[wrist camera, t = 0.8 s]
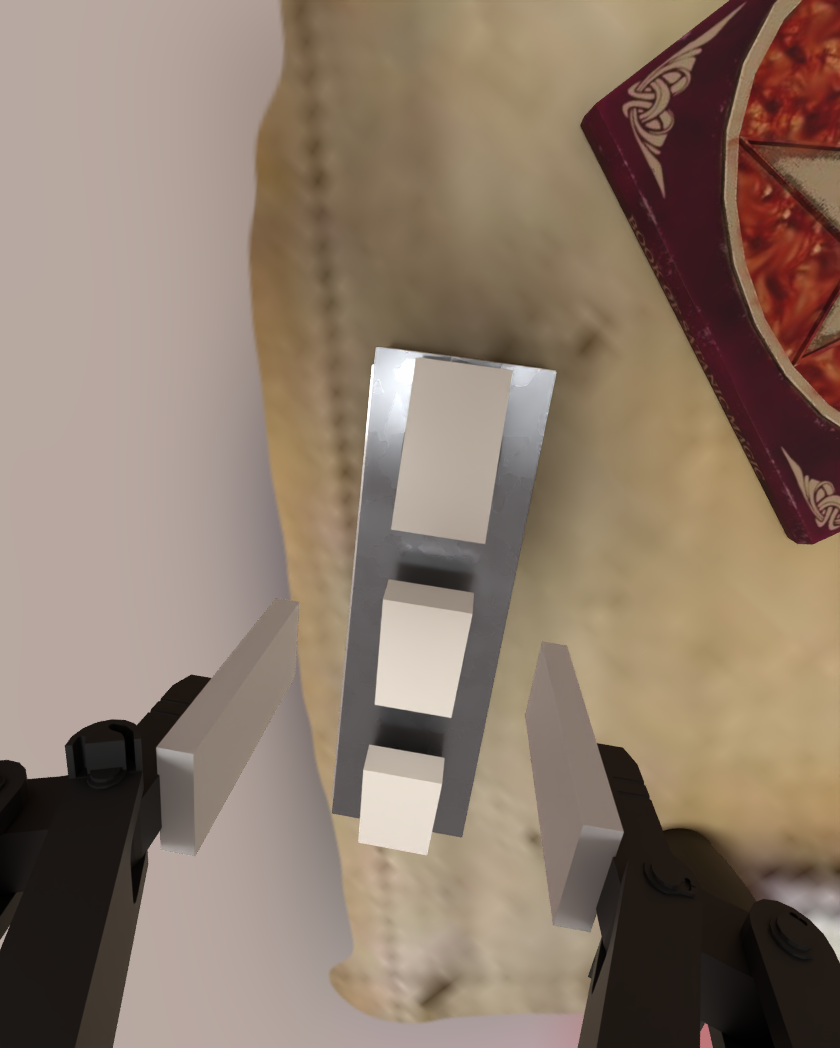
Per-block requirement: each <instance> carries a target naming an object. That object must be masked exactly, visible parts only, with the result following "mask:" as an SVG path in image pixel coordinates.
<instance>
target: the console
mask: <svg viewBox="0 0 840 1048" xmlns="http://www.w3.org/2000/svg"><path fill="white" fill-rule="evenodd" d="M416 357H419V358H426V359H434V360H441V361H448V362H456V363H463V364H470V365H478V366H485V367H493V368H500V369H507V370H513V372H512V378H511V385H510V391H509V397H508V404H507V410H506V416H505V422H504V429H503V435H502V447H501V455H500V461H499V467H498V472H497V477H496V481H495V485H494V491H493V497H492V504H491V510H490V516H489V523H488V529H487V535H486V541H485V544H481V543H475V542H468V541H462V540H455V539H449V538H442V537H436V536H429V535H423V534H416V533H410V532H403V531H397V530H391V526H392V519H393V512H394V505H395V498H396V491H397V484H398V478H399V471H400V464H401V451H402V444H403V438H404V433H405V428H406V422H407V415H408V408H409V401H410V394H411V387H412V380H413V373H414V366H415V359H416ZM556 372H557V371H554V370H551V369H547V368H542V367H534V366H527V365H520V364H512V363H505V362H497V361H490V360H483V359H475V358H468V357H460V356H453V355H446V354H438V353H431V352H423V351H416V350H408V349H401V348H394V347H376V351H375V362H374V364H373V365H372V372H371V382H370V393H369V404H368V415H367V425H366V436H365V447H364V458H363V468H362V479H361V490H360V501H359V512H358V522H357V533H356V544H355V555H354V565H353V576H352V587H351V598H350V608H349V619H348V630H347V641H346V651H345V662H344V673H343V684H342V695H341V705H340V716H339V727H338V738H337V748H336V759H335V770H334V781H333V791H332V798H333V808H332V813H333V814H338V815H344V816H349V817H354V818H360V811H361V796H362V782H363V769H364V765H365V761H366V756H367V752H368V748H369V745H375V746H380V747H386V748H392V749H397V750H403V751H408V752H414V753H420V754H425V755H431V756H437V757H442V758H445V760H444V770H443V780H442V787H441V792H440V796H439V801H438V808H437V814H436V818H435V820H434V825H433V829H432V832H435V833H441V834H446V835H451V836H457V837H462V835H463V830H464V825H465V820H466V815H467V810H468V806H469V801H470V796H471V791H472V786H473V781H474V776H475V771H476V766H477V761H478V756H479V751H480V746H481V742H482V737H483V732H484V727H485V722H486V717H487V712H488V707H489V702H490V697H491V692H492V687H493V682H494V678H495V673H496V668H497V663H498V658H499V653H500V648H501V643H502V638H503V633H504V628H505V623H506V619H507V614H508V609H509V604H510V599H511V594H512V589H513V584H514V579H515V574H516V569H517V564H518V559H519V555H520V550H521V545H522V540H523V535H524V530H525V525H526V520H527V515H528V510H529V505H530V500H531V495H532V491H533V486H534V481H535V476H536V471H537V466H538V461H539V456H540V451H541V446H542V441H543V436H544V431H545V427H546V422H547V417H548V412H549V407H550V402H551V397H552V392H553V387H554V382H555V377H556ZM389 579H390V580H396V581H403V582H409V583H415V584H421V585H428V586H434V587H440V588H446V589H453V590H459V591H465V592H472V593H474V600H473V614H472V619H471V624H470V629H469V634H468V639H467V644H466V651H465V657H464V663H463V667H462V670H461V673H460V678H459V683H458V688H457V692H456V697H455V702H454V707H453V712H452V717H451V718H449V717H443V716H437V715H431V714H426V713H420V712H414V711H408V710H402V709H397V708H391V707H385V706H379V705H375V694H376V682H377V669H378V656H379V655H378V650H379V641H380V631H381V618H382V605H383V598H384V594H385V591H386V587H387V584H388V580H389Z"/></svg>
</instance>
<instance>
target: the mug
mask: <svg viewBox="0 0 840 1048" xmlns="http://www.w3.org/2000/svg"><path fill="white" fill-rule="evenodd" d="M664 835H665V837H666V840H667V843H668V845H669V848H670V850H671V853H672V855H673V856H675V857H676V858H678V859H680V860H681V861H682V862H683V863H684V864H685V865H686V866H687V867H688V868H689V869H690V870H691V871H692V873H693V874H694V876H695V878H696V879H697V881H698V883H699V885H700V887H701V888H702V889H703V890H705V891H706V892H708V893H710V894H712V895H714V896H715V897H717V898H719V899H722V900H724V901H726V902H728V903H730V904H732V905H735V906H737V907H739V908H741V909H743V910H745V911H747V912H749V911H750V909H751V907H752V905H753V903H754V902H756V900H755V899H754V897H753V896H752V894H751V893H750V891H749V890H748V888H747V887H746V886H745V884H744V883H743V882H742V880H741V879H740V878H739V876H738V875H737V874H736V873H735V871H734V870H733V869H732V868H731V867H730V866H729V864H728V863H727V862H726V861H725V860H724V859H723V858H722V856H721V855H720V854H719V853H718V852H717V851H716V850H715V849H714V847H713V846H712V845H711V843H710V842H709V841H708V840H707V839H706V838H705V837H704V836H702V835H701V834H699V833H697V832H694V831H691V830H687V829H672V830H667V831H664ZM703 1026H704V1022H703V1021H701V1020H700V1031H701V1029H702V1028H703Z"/></svg>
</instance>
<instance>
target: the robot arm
mask: <svg viewBox="0 0 840 1048" xmlns="http://www.w3.org/2000/svg"><path fill="white" fill-rule="evenodd" d="M298 618H299V602H296V601H290V600H284V599H278V598H276V599H275V600H274V601H273V602H272V604H271V605H270V606H269V607H268V609H267V610H266V611H265V612H264V614H263V615H262V616H261V617H260V619H259V620H258V621H257V622H256V624H255V625H254V626H253V627H252V629H251V630H250V631H249V632H248V634H247V635H246V636H245V637H244V639H243V640H242V641H241V642H240V644H239V645H238V646H237V647H236V649H235V650H234V651H233V652H232V654H231V655H230V656H229V657H228V659H227V660H226V661H225V662H224V663H223V665H222V666H221V667H220V669H219V670H218V671H217V672H216V673H215V675H214V676H213V677H212V678H208V677H201V676H196V675H190V676H188V677H186V678H185V679H183V680H181V681H179V682H178V683H176V684H174V685H173V686H172V687H171V688H170V689H169V690H168V691H167V692H166V693H165V695H164V696H163V697H162V698H161V701H158V702H157V703H156V705H155V706H154V707H153V708H152V709H151V712H150V713H147V715H146V716H145V717H144V718H143V719H142V720H141V721H140V723H138V725H137V726H136V724H134V723H132V722H129V721H126V720H106V721H101V722H97V723H94V724H92V725H90V726H87V727H85V728H83V729H81V730H80V731H79V732H77V733H76V734H75V735H73V736H72V737H71V738H70V740H69V741H68V742H67V744H66V745H65V751H66V759H67V767H68V775H67V776H60V777H48V778H38V779H37V778H36V779H27V775H26V769H25V768H24V767H23V766H22V765H21V764H20V763H18V762H14V761H9V760H1V761H0V939H1V938H2V936H3V935H4V933H5V932H6V930H7V929H8V927H9V926H10V927H9V929H8V932H7V934H6V937H5V939H4V942H3V944H2V947H1V949H0V1048H113V1043H114V1038H115V1032H116V1028H117V1023H118V1017H119V1012H120V1007H121V1002H122V997H123V992H124V987H125V981H126V976H127V971H128V966H129V961H130V955H131V950H132V945H133V940H134V935H135V929H136V924H137V919H138V914H139V909H140V904H141V899H142V893H143V888H144V883H145V878H146V872H147V868H148V852H147V850H148V848H149V847H150V845H151V843H152V842H153V840H154V839H155V837H156V836H157V834H158V833H159V831H160V840H161V850H165V851H170V852H175V853H181V854H186V855H192V856H196V854H197V852H198V850H199V848H200V847H201V845H202V843H203V841H204V839H205V838H206V836H207V834H208V832H209V830H210V828H211V827H212V825H213V823H214V821H215V819H216V818H217V816H218V814H219V812H220V811H221V809H222V807H223V805H224V803H225V802H226V800H227V798H228V796H229V794H230V792H231V791H232V789H233V787H234V785H235V783H236V782H237V780H238V778H239V776H240V774H241V773H242V771H243V769H244V767H245V765H246V764H247V762H248V760H249V758H250V756H251V754H252V753H253V751H254V749H255V747H256V746H257V744H258V742H259V740H260V738H261V737H262V735H263V733H264V731H265V729H266V727H267V726H268V724H269V722H270V720H271V718H272V716H273V715H274V713H275V711H276V709H277V707H278V705H279V704H280V702H281V700H282V698H283V697H284V695H285V693H286V691H287V690H288V688H289V686H290V684H291V682H292V681H293V679H294V677H295V670H296V653H297V635H298ZM525 718H526V726H527V733H528V741H529V748H530V756H531V763H532V771H533V778H534V786H535V793H536V801H537V808H538V816H539V823H540V831H541V838H542V846H543V853H544V861H545V868H546V876H547V883H548V891H549V898H550V906H551V913H552V921H553V925H555V926H560V927H566V928H571V929H576V930H581V931H586V932H591V929H592V926H593V923H594V920H595V917H596V914H597V916H598V921H599V926H600V930H601V935H602V938H601V941H600V943H599V946H598V949H597V952H596V955H595V958H594V961H593V964H592V967H591V970H590V972H589V975H588V977H590V978H591V983H590V988H589V994H588V999H587V1004H586V1009H585V1014H584V1019H583V1024H582V1029H581V1034H580V1039H579V1044H578V1048H700V1020H701V1021H703V1022H704V1023H706V1024H708V1027H709V1031H710V1036H711V1041H712V1045H713V1048H840V963H839V961H838V958H837V956H836V954H835V952H834V950H833V948H832V947H831V945H830V944H829V942H828V940H827V939H826V937H825V936H824V934H823V933H822V932H821V931H820V930H819V929H818V928H817V927H816V926H815V925H814V924H813V923H812V922H811V921H810V920H809V919H808V918H806V917H805V916H804V915H802V914H801V913H799V912H798V911H797V910H795V909H794V908H792V907H790V906H787V905H785V904H783V903H781V902H778V901H774V900H767V899H763V900H760V901H757V902H754V903H753V905H752V907H751V909H750V911H749V912H747V911H745V910H743V909H741V908H739V907H737V906H735V905H732V904H730V903H728V902H726V901H724V900H722V899H719V898H717V897H715V896H714V895H712V894H710V893H708V892H706V891H705V890H703V889H702V888H701V887H700V885H699V883H698V881H697V879H696V878H695V876H694V874H693V873H692V871H691V870H690V869H689V868H688V867H687V866H686V865H685V864H684V863H683V862H682V861H681V860H680V859H678V858H676V857H675V856H673V855H672V853H671V850H670V848H669V845H668V843H667V840H666V837H665V835H664V832H663V830H662V827H661V824H660V822H659V819H658V817H657V814H656V812H655V809H654V806H653V804H652V801H651V800H650V799H649V797H650V796H649V793H648V791H647V788H646V786H645V785H644V781H643V778H642V775H641V773H640V770H639V768H638V765H637V764H636V762H635V761H634V760H633V759H632V758H631V756H630V755H629V754H628V753H627V752H626V751H625V749H624V748H621V747H616V746H610V745H604V744H598V743H596V739H595V736H594V733H593V730H592V726H591V723H590V720H589V716H588V713H587V710H586V707H585V703H584V700H583V697H582V693H581V690H580V687H579V684H578V680H577V677H576V674H575V671H574V667H573V664H572V661H571V657H570V654H569V651H568V648H567V646H566V645H560V644H554V643H548V642H542V644H541V648H540V652H539V657H538V661H537V665H536V670H535V674H534V678H533V683H532V687H531V691H530V696H529V700H528V704H527V709H526V713H525Z"/></svg>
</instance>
